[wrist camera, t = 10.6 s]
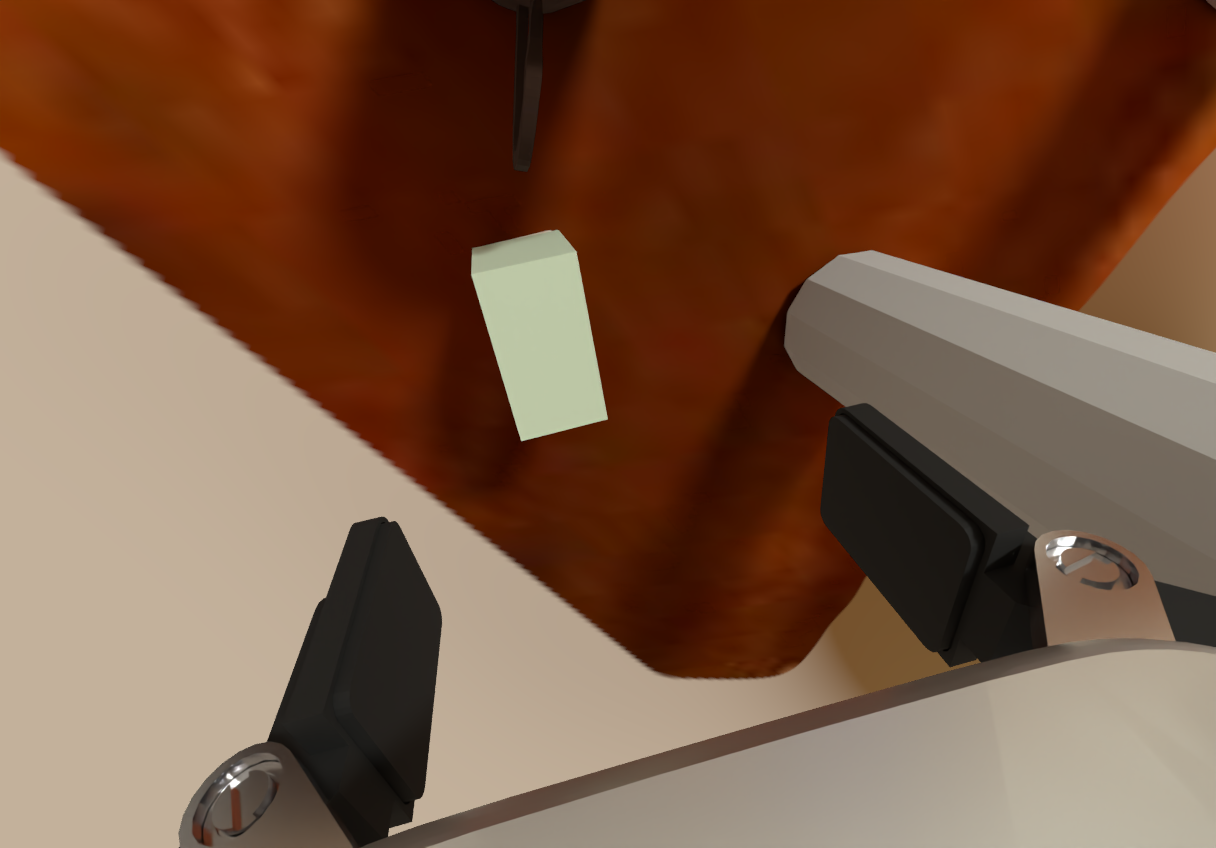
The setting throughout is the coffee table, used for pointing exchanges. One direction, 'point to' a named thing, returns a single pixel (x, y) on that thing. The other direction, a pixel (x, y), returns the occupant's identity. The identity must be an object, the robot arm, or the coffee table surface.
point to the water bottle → (1027, 402)
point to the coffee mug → (528, 72)
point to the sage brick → (540, 332)
